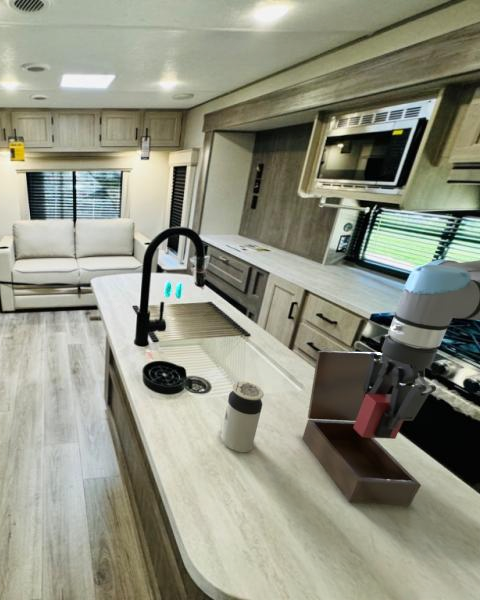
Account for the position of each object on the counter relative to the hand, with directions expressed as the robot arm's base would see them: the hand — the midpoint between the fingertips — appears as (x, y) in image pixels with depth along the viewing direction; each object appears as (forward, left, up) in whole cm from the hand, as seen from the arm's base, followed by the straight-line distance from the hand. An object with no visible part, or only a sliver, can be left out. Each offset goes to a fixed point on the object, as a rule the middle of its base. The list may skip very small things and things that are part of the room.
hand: (375, 429), depth 72 cm
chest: (+2, -1, -15) cm, 15 cm away
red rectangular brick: (0, 0, -1) cm, 1 cm away
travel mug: (+19, +19, -15) cm, 31 cm away
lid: (+12, -5, +2) cm, 13 cm away
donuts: (+121, -32, -15) cm, 126 cm away
